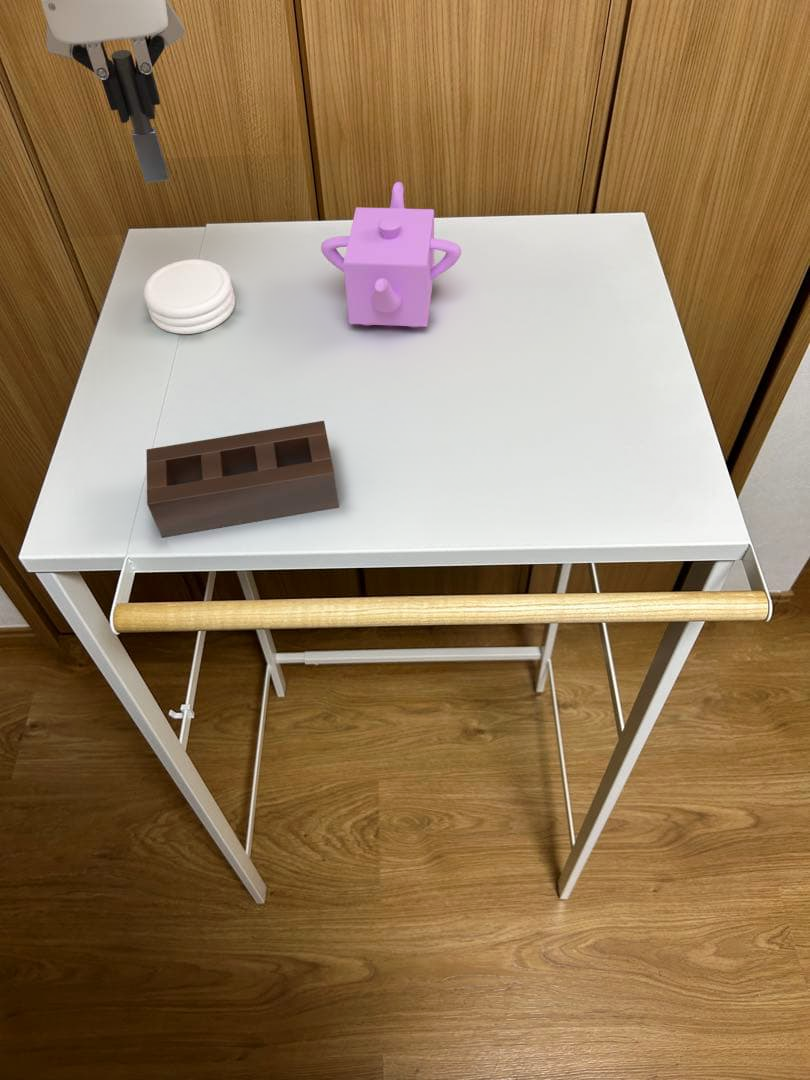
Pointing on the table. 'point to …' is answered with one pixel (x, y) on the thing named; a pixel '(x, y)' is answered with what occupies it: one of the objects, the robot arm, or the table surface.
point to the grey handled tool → (140, 121)
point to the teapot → (390, 263)
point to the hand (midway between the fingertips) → (138, 112)
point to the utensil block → (240, 479)
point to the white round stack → (189, 296)
